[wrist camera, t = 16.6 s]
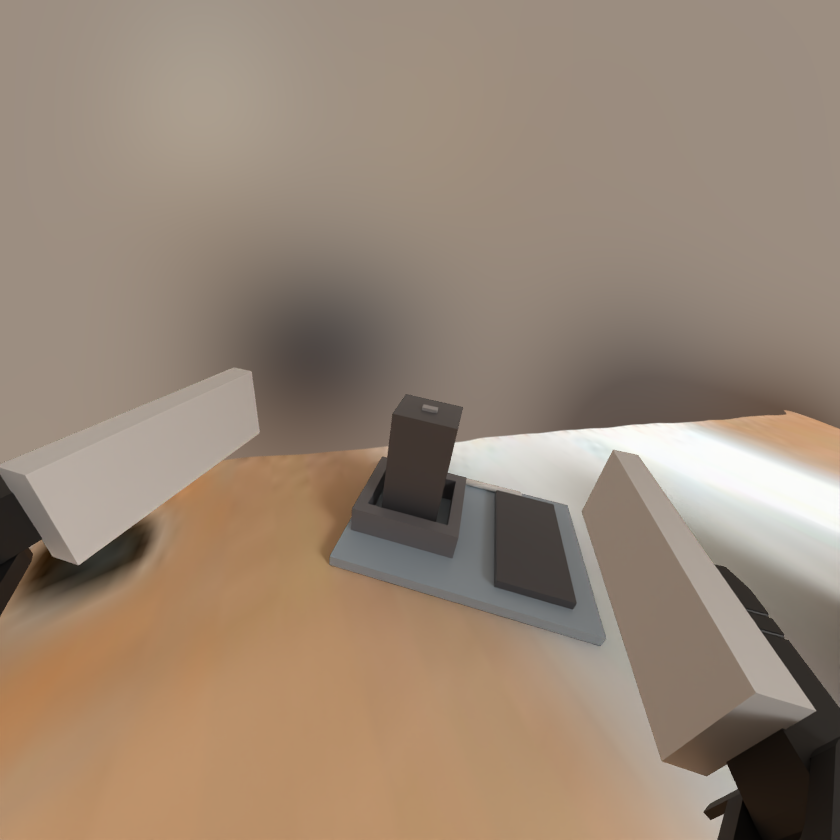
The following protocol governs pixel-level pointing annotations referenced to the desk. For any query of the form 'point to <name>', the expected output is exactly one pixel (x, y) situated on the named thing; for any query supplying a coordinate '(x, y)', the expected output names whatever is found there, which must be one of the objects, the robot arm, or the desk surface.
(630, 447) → the desk surface
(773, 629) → the robot arm
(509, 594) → the charging dock
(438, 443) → the brick
